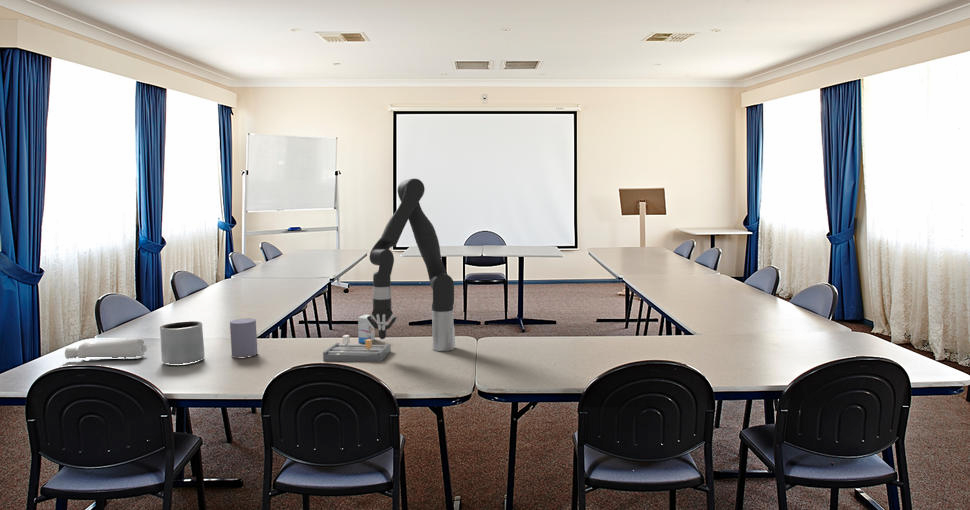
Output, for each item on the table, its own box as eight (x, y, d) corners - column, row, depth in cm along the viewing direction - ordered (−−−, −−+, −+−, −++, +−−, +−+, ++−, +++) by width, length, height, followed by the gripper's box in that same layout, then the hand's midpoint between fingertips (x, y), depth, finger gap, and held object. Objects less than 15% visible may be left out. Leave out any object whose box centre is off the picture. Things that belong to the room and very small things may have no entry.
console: (390, 351, 276) (390, 343, 276) (380, 361, 261) (380, 353, 260) (336, 350, 279) (336, 342, 279) (323, 360, 263) (322, 352, 263)
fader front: (372, 351, 267) (371, 339, 266) (370, 352, 264) (369, 340, 263) (367, 350, 267) (367, 339, 267) (365, 352, 264) (365, 340, 264)
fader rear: (349, 346, 275) (349, 334, 275) (347, 348, 272) (347, 336, 272) (345, 346, 275) (344, 334, 275) (343, 348, 272) (342, 336, 272)
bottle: (149, 347, 277) (75, 352, 274) (143, 332, 272) (67, 337, 268) (143, 363, 271) (67, 368, 267) (136, 348, 265) (59, 354, 261)
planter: (213, 358, 270) (211, 321, 269) (184, 368, 255) (181, 330, 254) (183, 355, 276) (180, 319, 274) (152, 365, 260) (150, 327, 259)
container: (262, 355, 274) (260, 320, 272) (238, 360, 267) (236, 324, 265) (250, 351, 281) (248, 317, 279) (227, 355, 274) (225, 321, 272)
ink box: (368, 343, 291) (367, 318, 290) (358, 343, 292) (357, 317, 291) (375, 339, 300) (374, 314, 299) (365, 338, 301) (364, 314, 300)
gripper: (400, 296, 265) (400, 337, 267) (369, 295, 267) (369, 336, 269) (395, 299, 258) (395, 341, 260) (363, 298, 260) (364, 340, 262)
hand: (382, 338), depth 264 cm, fingers closed
